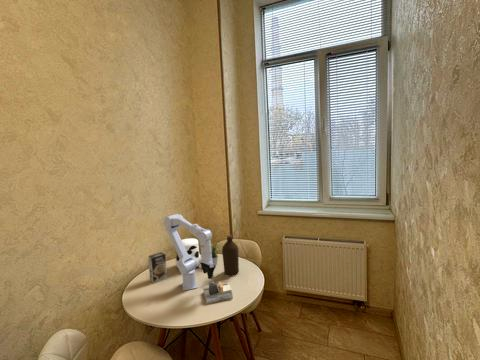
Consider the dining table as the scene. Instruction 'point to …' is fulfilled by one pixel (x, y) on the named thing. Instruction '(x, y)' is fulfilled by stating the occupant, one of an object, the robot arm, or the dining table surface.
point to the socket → (217, 295)
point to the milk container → (191, 250)
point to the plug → (212, 288)
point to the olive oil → (230, 257)
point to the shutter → (224, 288)
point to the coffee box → (157, 267)
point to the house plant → (214, 253)
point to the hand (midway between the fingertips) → (207, 275)
